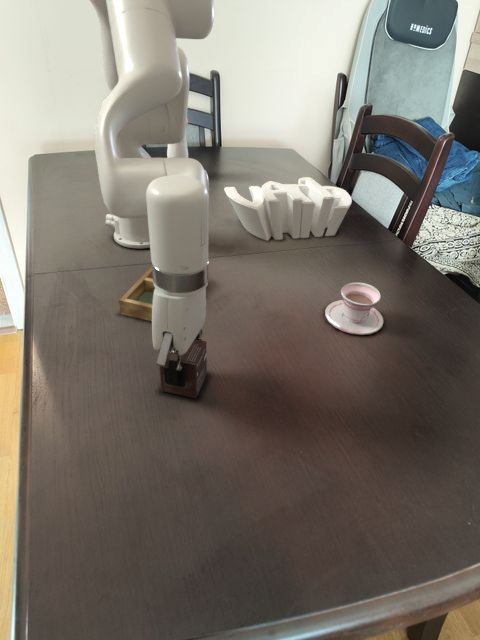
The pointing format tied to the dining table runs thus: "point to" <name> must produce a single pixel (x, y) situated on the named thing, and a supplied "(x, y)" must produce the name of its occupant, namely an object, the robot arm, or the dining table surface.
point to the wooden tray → (139, 298)
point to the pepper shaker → (178, 148)
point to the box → (189, 370)
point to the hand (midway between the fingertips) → (183, 369)
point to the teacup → (356, 310)
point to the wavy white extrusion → (291, 209)
